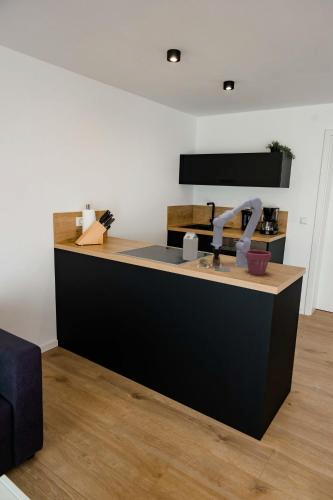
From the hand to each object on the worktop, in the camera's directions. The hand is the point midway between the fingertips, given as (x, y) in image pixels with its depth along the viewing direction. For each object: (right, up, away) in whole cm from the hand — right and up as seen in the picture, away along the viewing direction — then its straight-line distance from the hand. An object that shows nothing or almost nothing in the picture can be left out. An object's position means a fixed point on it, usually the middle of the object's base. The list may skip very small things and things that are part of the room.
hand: (216, 258), depth 216 cm
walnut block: (0, -4, +1) cm, 5 cm away
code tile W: (0, -5, +1) cm, 5 cm away
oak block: (-9, -5, -3) cm, 10 cm away
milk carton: (-16, -2, +16) cm, 23 cm away
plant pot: (+22, -9, -14) cm, 27 cm away
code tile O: (-9, -5, -3) cm, 11 cm away
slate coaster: (+2, -7, -9) cm, 12 cm away
